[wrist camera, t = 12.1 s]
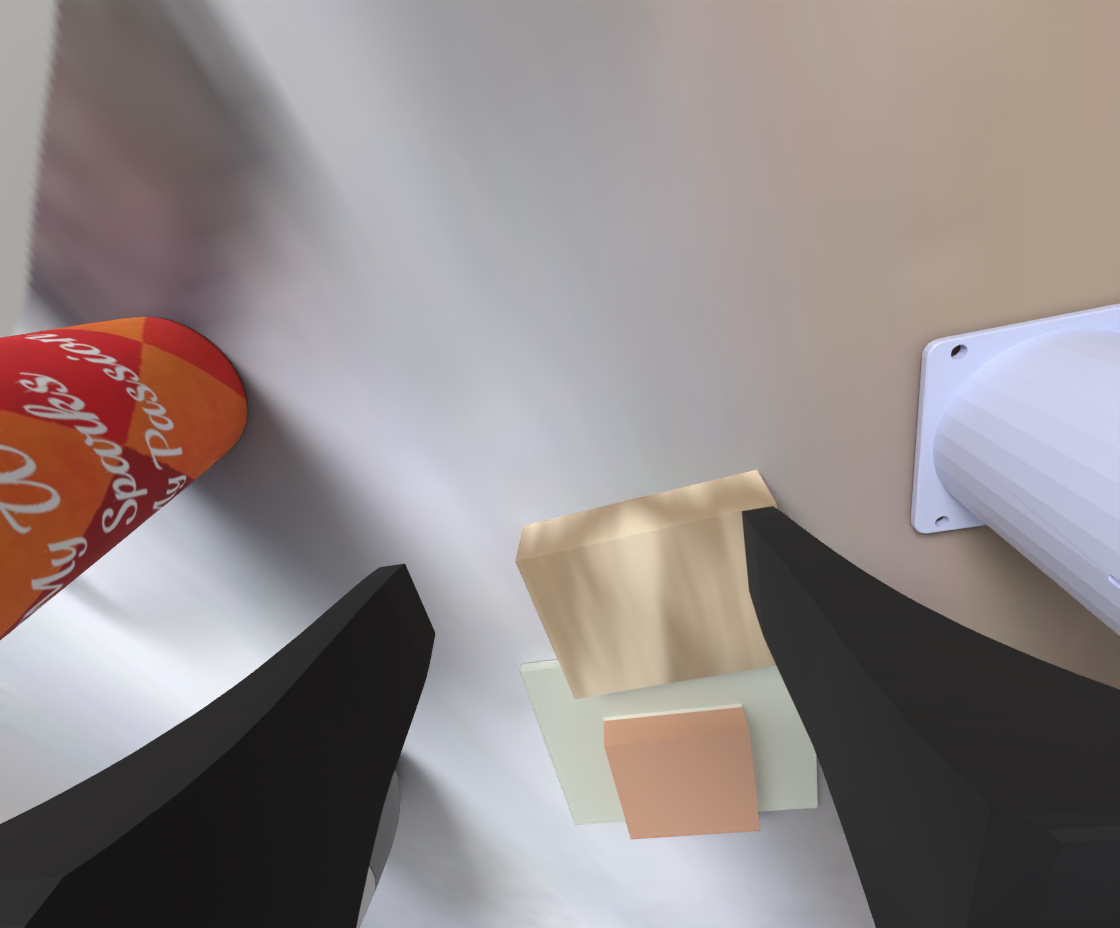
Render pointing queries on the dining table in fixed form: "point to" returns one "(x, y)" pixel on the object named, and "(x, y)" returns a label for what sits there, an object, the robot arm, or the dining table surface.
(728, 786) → the tile
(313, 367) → the dining table surface
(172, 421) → the coffee cup
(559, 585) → the light wooden block
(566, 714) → the mat
